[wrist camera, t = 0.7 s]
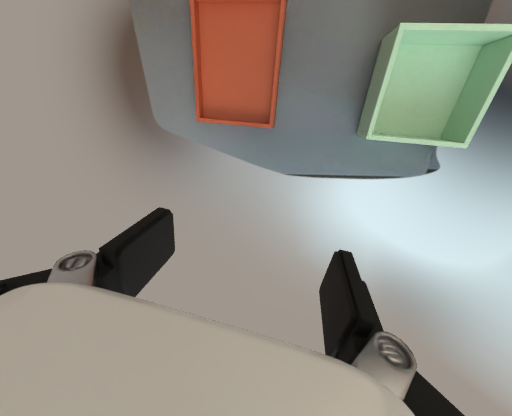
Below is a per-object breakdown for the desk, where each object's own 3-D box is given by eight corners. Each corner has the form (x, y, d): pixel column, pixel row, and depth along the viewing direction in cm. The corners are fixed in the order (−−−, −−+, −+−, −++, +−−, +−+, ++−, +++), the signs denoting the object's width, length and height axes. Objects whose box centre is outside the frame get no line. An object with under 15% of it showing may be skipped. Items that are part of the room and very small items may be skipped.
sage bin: (382, 39, 27) (400, 22, 22) (486, 41, 25) (532, 24, 20) (355, 134, 32) (365, 139, 27) (439, 142, 30) (466, 148, 26)
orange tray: (195, -1, 29) (189, -9, 27) (287, -1, 27) (286, -9, 25) (201, 120, 36) (196, 121, 34) (274, 127, 34) (272, 128, 32)
